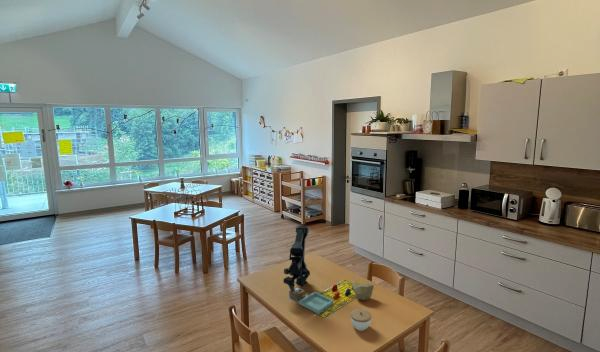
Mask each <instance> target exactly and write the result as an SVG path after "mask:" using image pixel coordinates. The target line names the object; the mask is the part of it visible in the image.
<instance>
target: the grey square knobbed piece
mask: <svg viewBox="0 0 600 352" xmlns="http://www.w3.org/2000/svg"><path fill="white" fill-rule="evenodd" d="M299 288H300V287H299ZM299 288H296V289H295V292H296V293H299ZM307 296H308V295H307V294H305V297H307ZM286 298H287V299H289V300H291V301H293V302H294V303H297V304H299V301H300V300H298V301H297V300H295V299H293V298H291V297H289V294H288V295H287V296H286Z"/></svg>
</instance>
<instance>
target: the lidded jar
mask: <svg viewBox="0 0 600 352" xmlns="http://www.w3.org/2000/svg"><path fill="white" fill-rule="evenodd" d="M371 320H372V314H371V312H370V311H368V310H366V309H363V308H355V309H353V310H352V311H351V312H350V321H351V324H352V326H353V327H354V328H355V330H357V331H358V332H359V331H360V332H365V331H366V330H367V329H368V328H369V327H370V325H371Z"/></svg>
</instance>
